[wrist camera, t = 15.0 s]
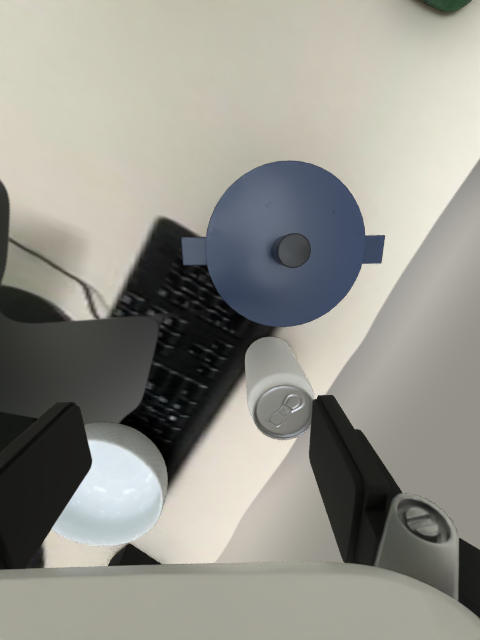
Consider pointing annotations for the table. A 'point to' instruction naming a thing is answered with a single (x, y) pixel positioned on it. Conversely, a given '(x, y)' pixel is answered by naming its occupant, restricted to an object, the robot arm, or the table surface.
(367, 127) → the table surface
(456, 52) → the table surface
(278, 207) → the pot lid
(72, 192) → the table surface
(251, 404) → the can
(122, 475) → the cereal bowl
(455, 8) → the coffee jar
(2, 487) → the robot arm
